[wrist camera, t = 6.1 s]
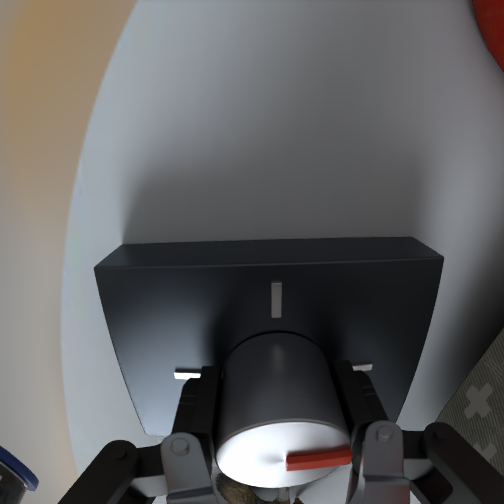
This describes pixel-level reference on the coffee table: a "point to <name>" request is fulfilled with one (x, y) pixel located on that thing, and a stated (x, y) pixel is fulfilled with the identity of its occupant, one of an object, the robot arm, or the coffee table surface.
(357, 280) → the dial panel
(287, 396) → the program dial
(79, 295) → the coffee table surface
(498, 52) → the apple
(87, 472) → the robot arm
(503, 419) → the planter
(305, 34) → the coffee table surface
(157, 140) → the coffee table surface
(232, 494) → the eagle figurine
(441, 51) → the coffee table surface
